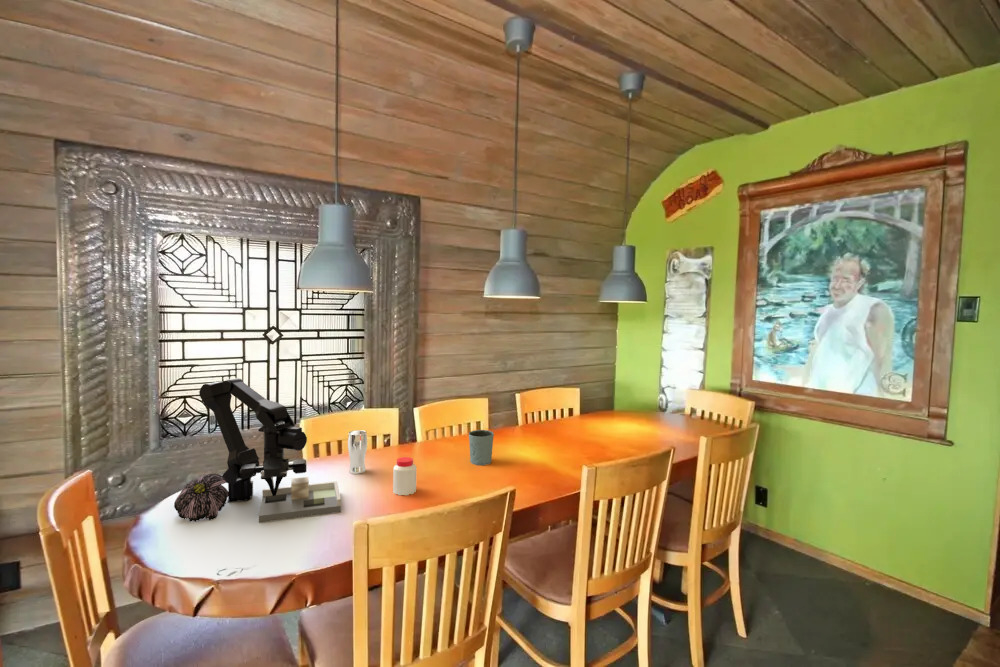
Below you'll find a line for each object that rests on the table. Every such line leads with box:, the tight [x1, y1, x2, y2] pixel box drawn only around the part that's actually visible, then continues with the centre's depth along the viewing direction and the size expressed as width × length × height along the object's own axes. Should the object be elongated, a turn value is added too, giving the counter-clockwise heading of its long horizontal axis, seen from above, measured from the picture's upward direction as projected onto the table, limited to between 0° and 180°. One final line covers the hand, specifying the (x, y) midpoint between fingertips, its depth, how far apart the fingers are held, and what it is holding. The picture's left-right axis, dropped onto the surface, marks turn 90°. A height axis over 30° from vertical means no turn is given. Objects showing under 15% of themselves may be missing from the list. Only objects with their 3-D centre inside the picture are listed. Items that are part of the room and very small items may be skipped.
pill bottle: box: [392, 456, 417, 496], centre depth 168 cm, size 8×8×11 cm
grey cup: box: [468, 429, 495, 466], centre depth 200 cm, size 10×10×12 cm
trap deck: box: [258, 480, 342, 524], centre depth 153 cm, size 22×16×4 cm
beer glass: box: [347, 429, 368, 475], centre depth 186 cm, size 7×7×15 cm
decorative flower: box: [173, 473, 229, 523], centre depth 147 cm, size 15×12×15 cm
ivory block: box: [290, 476, 310, 500], centre depth 157 cm, size 5×5×5 cm
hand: (274, 495), depth 154 cm, fingers closed
